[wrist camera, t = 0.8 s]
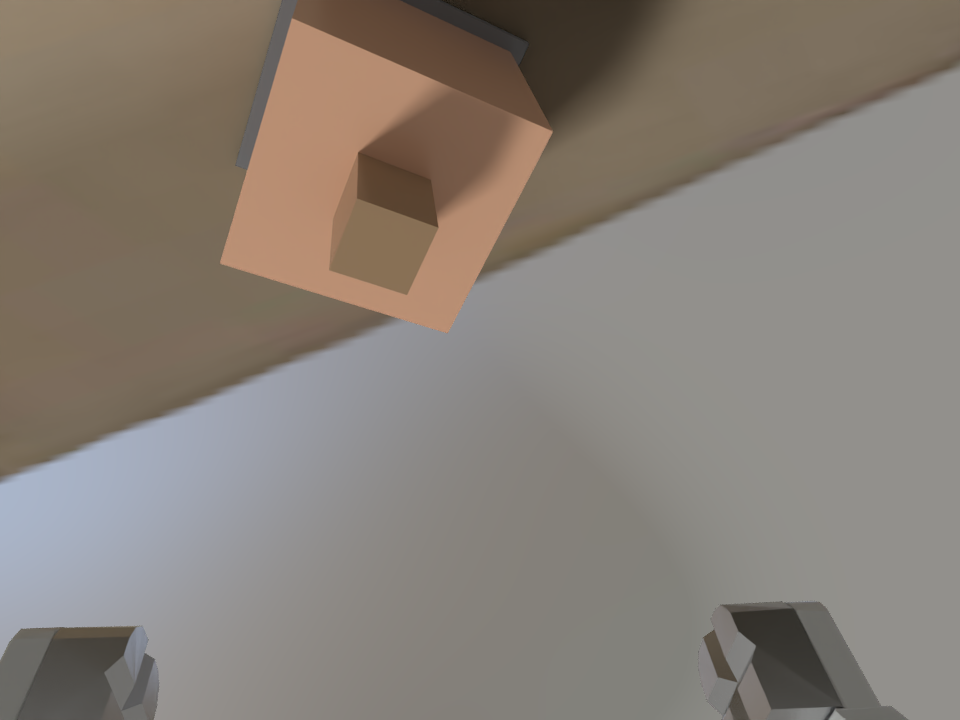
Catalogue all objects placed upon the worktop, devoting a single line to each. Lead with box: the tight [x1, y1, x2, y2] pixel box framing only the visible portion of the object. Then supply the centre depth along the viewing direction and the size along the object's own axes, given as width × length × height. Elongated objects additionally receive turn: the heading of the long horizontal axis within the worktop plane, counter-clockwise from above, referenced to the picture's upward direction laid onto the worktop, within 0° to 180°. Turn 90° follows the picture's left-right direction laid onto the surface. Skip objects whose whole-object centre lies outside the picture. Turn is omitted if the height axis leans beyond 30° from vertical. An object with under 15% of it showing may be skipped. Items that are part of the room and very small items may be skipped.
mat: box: [235, 0, 529, 170], centre depth 38 cm, size 12×12×1 cm
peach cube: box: [220, 0, 553, 333], centre depth 32 cm, size 10×10×15 cm
